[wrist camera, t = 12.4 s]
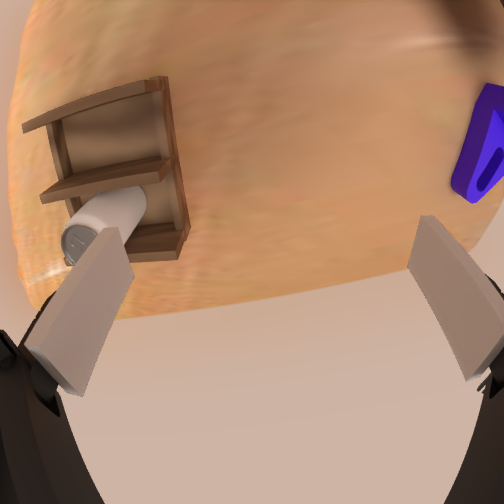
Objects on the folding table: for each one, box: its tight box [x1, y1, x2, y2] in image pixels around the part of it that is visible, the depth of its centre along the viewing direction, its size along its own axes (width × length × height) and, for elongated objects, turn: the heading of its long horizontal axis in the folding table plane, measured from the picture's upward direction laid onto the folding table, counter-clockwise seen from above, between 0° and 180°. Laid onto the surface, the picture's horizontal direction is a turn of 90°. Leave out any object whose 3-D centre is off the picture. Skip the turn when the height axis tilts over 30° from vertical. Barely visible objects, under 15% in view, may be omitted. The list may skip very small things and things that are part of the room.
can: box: [61, 186, 147, 266], centre depth 29 cm, size 6×6×12 cm
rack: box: [22, 76, 191, 266], centre depth 29 cm, size 20×16×8 cm
